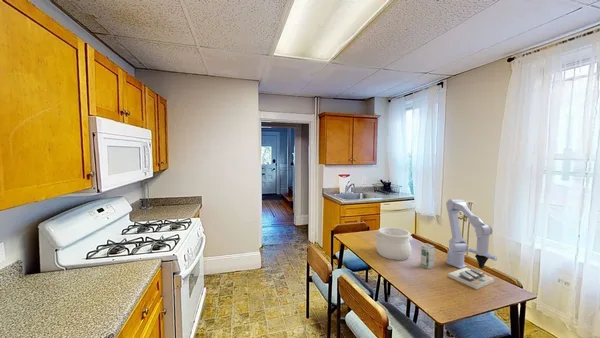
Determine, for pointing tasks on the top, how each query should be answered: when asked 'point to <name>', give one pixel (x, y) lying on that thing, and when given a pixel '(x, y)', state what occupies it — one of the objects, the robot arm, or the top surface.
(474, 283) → the switch panel
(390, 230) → the pot
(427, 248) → the syrup box
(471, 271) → the rocker
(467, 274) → the rocker
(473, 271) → the rocker
